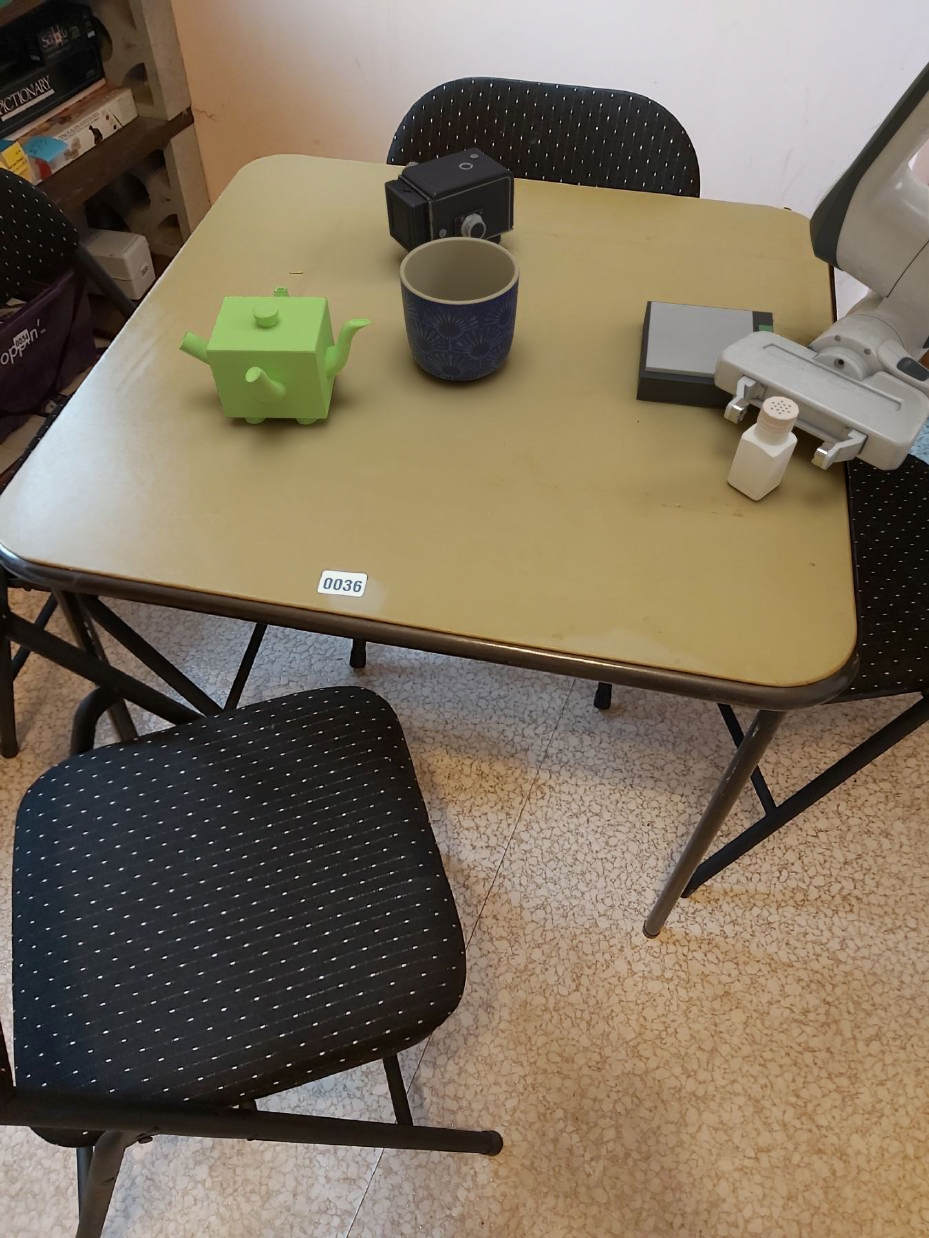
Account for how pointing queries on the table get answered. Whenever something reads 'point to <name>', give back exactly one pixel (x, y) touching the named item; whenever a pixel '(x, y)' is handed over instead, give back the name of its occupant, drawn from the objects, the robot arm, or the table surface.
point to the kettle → (274, 356)
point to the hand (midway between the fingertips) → (774, 437)
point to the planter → (459, 306)
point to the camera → (451, 200)
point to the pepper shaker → (765, 449)
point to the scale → (691, 351)
